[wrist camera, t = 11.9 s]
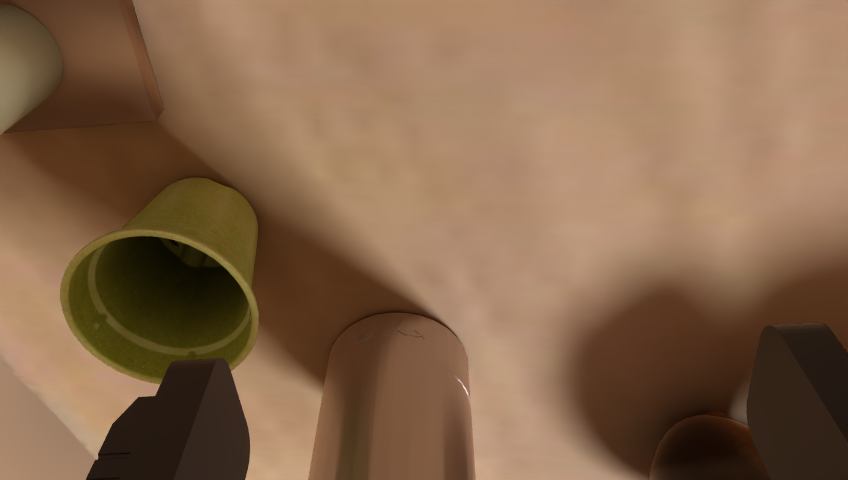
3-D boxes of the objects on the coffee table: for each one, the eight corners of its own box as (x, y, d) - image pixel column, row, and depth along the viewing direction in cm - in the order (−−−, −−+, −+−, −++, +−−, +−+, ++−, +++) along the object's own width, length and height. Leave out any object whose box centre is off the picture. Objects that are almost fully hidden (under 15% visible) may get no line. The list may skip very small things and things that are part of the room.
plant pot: (90, 181, 41) (17, 270, 34) (236, 123, 39) (192, 205, 32) (179, 304, 46) (132, 405, 39) (314, 258, 44) (292, 355, 37)
